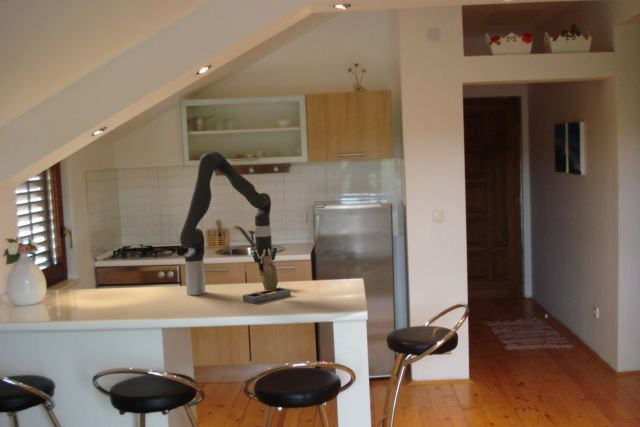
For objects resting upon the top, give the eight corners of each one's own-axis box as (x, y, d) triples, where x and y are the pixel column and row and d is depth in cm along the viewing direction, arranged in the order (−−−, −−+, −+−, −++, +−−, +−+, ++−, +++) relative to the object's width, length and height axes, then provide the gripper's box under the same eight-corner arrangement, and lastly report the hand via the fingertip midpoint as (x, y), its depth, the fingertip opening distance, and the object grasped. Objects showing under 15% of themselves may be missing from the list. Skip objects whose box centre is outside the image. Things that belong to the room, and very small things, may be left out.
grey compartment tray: (242, 301, 336) (242, 294, 336) (279, 293, 350) (279, 286, 350) (253, 304, 329) (253, 297, 329) (290, 295, 344) (290, 289, 343)
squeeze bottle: (281, 288, 362) (279, 253, 360) (272, 291, 356) (270, 256, 354) (268, 287, 367) (266, 252, 365) (259, 290, 360) (257, 255, 358)
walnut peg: (260, 275, 339) (258, 255, 338) (266, 274, 341) (265, 254, 340) (265, 276, 336) (263, 256, 335) (271, 275, 338) (270, 254, 337)
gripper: (270, 232, 344) (272, 267, 346) (246, 236, 335) (248, 271, 337) (279, 233, 338) (281, 268, 340) (255, 237, 329) (257, 273, 331)
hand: (265, 270), depth 338 cm, fingers closed on walnut peg, 4 cm apart
